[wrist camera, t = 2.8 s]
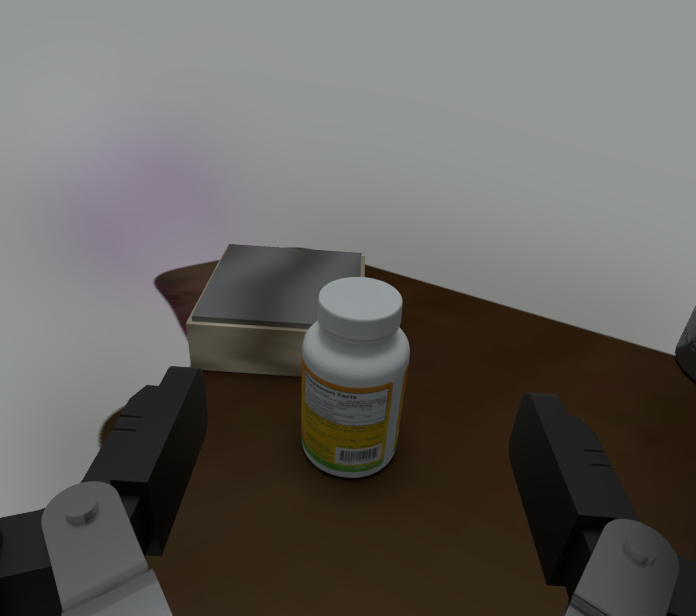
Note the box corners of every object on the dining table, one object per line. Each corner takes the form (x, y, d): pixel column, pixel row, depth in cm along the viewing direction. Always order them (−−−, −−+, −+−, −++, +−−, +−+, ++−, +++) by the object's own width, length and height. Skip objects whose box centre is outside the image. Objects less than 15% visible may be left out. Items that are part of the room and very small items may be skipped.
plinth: (361, 295, 44) (365, 251, 42) (359, 380, 35) (363, 330, 33) (229, 286, 44) (226, 242, 42) (191, 369, 35) (185, 318, 33)
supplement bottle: (343, 397, 33) (352, 259, 28) (414, 441, 30) (439, 296, 25) (281, 445, 30) (278, 295, 24) (355, 499, 27) (370, 343, 22)
